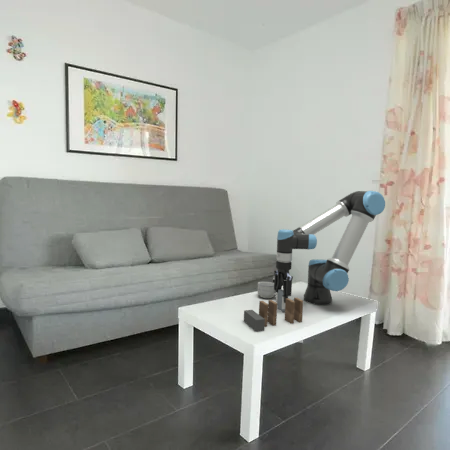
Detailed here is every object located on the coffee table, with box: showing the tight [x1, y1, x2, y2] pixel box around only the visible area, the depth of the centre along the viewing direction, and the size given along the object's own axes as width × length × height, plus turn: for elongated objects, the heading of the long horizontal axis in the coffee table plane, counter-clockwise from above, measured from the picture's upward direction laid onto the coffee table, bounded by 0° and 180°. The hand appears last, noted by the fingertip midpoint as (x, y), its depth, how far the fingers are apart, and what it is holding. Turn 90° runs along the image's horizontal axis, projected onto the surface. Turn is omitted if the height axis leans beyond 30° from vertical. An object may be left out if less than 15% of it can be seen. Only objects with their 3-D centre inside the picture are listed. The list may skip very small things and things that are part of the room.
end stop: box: [243, 309, 266, 333], centre depth 146 cm, size 4×12×5 cm, turn 22°
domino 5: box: [293, 297, 304, 323], centre depth 154 cm, size 2×5×10 cm, turn 22°
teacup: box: [256, 281, 276, 300], centre depth 187 cm, size 14×11×8 cm
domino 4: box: [284, 297, 295, 324], centre depth 152 cm, size 2×5×10 cm, turn 22°
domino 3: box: [277, 288, 285, 313], centre depth 167 cm, size 2×5×10 cm, turn 22°
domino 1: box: [258, 300, 268, 328], centre depth 147 cm, size 2×5×10 cm, turn 22°
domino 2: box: [267, 299, 278, 327], centre depth 149 cm, size 2×5×10 cm, turn 22°
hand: (281, 306), depth 167 cm, fingers closed on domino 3, 5 cm apart
